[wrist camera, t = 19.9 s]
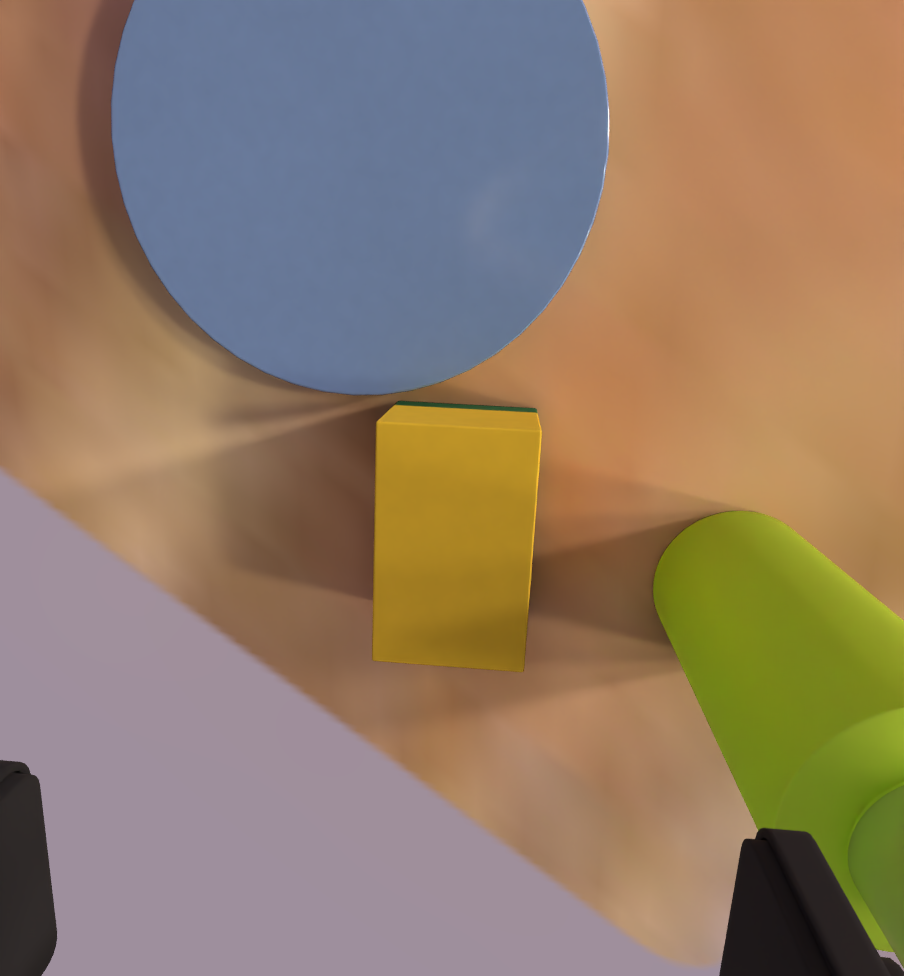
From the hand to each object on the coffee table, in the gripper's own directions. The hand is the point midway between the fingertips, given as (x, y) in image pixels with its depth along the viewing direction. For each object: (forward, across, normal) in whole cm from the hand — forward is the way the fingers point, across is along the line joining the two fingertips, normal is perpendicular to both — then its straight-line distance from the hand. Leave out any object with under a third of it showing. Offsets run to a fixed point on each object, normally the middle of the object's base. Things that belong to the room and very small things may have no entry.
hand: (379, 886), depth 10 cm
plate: (+18, +4, -12) cm, 22 cm away
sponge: (+18, 0, 0) cm, 18 cm away
